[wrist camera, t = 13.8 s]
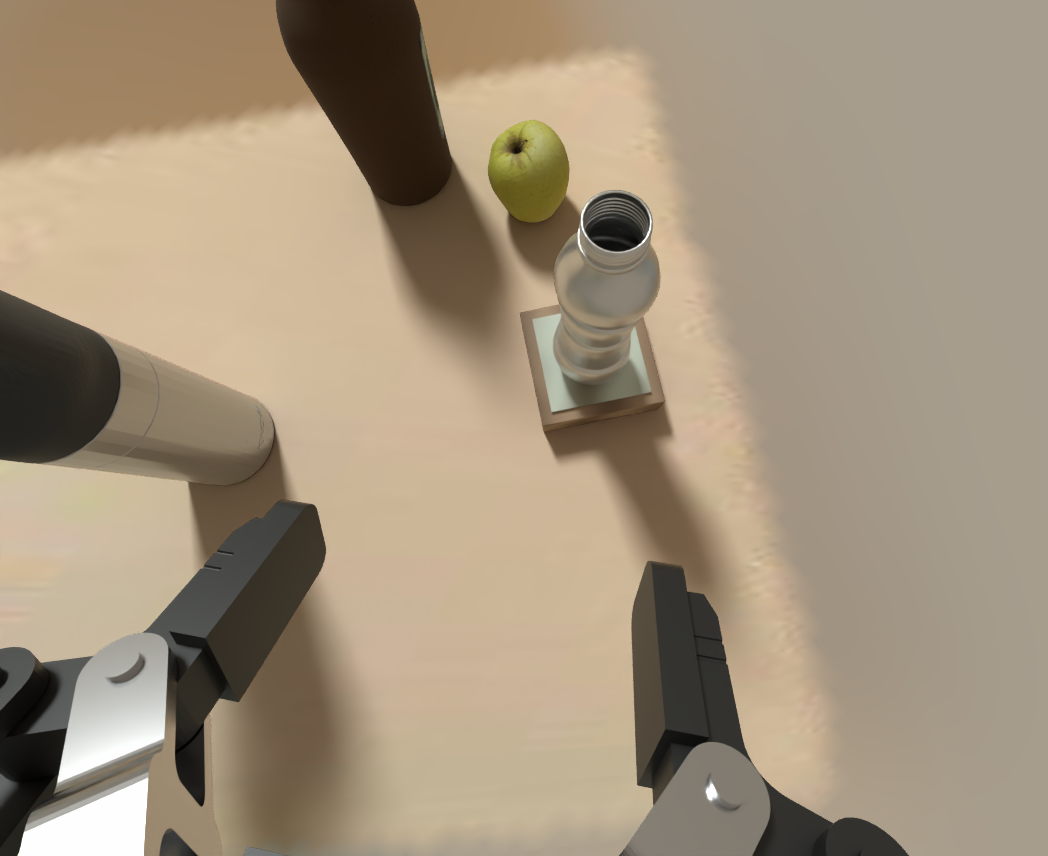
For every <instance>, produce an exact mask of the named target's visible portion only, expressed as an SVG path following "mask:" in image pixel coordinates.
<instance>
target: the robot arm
mask: <svg viewBox="0 0 1048 856" xmlns="http://www.w3.org/2000/svg"><path fill="white" fill-rule="evenodd" d="M273 440H274V427H273V422H272V419H271V417H270V414H269V412H268V411H267V409H266V408H265V407H264V405H263V404H261V403H260V402H259V401H258V400H256V399H254V398H252V397H250V396H248V395H246V394H243V393H241V392H239V391H236V390H234V389H232V388H229V387H227V386H225V385H223V384H220V383H218V382H215V381H213V380H211V379H208V378H206V377H204V376H201V375H199V374H196V373H194V372H192V371H189V370H187V369H185V368H182V367H180V366H177V365H175V364H173V363H170V362H168V361H166V360H163V359H161V358H158V357H156V356H154V355H151V354H149V353H147V352H144V351H142V350H139V349H137V348H135V347H132V346H129V345H127V344H125V343H122V342H120V341H118V340H115V339H113V338H110V337H108V336H106V335H103V334H101V333H98V332H96V331H94V330H91V329H89V328H87V327H84V326H82V325H79V324H77V323H74V322H72V321H70V320H67V319H65V318H62V317H60V316H58V315H56V314H53V313H51V312H49V311H47V310H44V309H42V308H40V307H38V306H35V305H33V304H31V303H29V302H26V301H24V300H22V299H20V298H17V297H15V296H13V295H10V294H8V293H6V292H3V291H1V290H0V460H7V461H16V462H25V463H36V464H45V465H53V466H62V467H70V468H79V469H89V470H97V471H105V472H114V473H122V474H130V475H139V476H147V477H155V478H163V479H172V480H180V481H187V482H195V483H204V484H212V485H231V484H236V483H238V482H241V481H243V480H246V479H247V478H249V477H250V476H252V475H253V474H254V473H255V472H256V471H258V470H259V469H260V468H261V467H262V465H263V464H264V462H265V461H266V459H267V458H268V456H269V453H270V451H271V449H272V445H273ZM325 555H326V546H325V541H324V537H323V533H322V529H321V524H320V520H319V516H318V512H317V508H316V507H315V505H313V504H308V503H301V502H295V501H289V500H280V501H278V502H277V503H276V504H275V505H274V506H273V507H272V509H271V510H270V511H269V512H268V513H267V515H266V516H265V517H264V518H263V519H261V518H254V519H252V520H251V521H249V522H248V523H246V524H245V525H243V526H242V527H240V528H239V529H237V530H235V531H234V532H233V533H232V534H231V535H230V536H229V537H228V538H227V540H226V541H225V542H224V543H223V544H222V545H221V546H220V548H219V549H218V551H217V553H216V554H213V556H212V557H211V558H210V559H209V560H208V561H207V562H206V563H205V565H204V568H203V569H200V570H199V571H198V573H197V574H196V575H195V576H194V577H193V578H192V579H191V580H190V582H189V583H188V584H187V585H186V586H185V587H184V588H183V590H182V591H181V592H180V593H179V594H178V595H177V596H176V597H175V599H174V600H173V601H172V602H171V603H170V604H169V605H168V607H167V608H166V609H165V610H164V611H163V612H162V613H161V614H160V616H159V617H158V618H157V619H156V620H155V621H154V622H153V624H152V625H151V626H150V627H149V628H148V629H147V630H145V631H144V632H143V633H138V634H133V635H129V636H126V637H123V638H121V639H119V640H117V641H115V642H113V643H111V644H109V645H108V646H106V647H104V648H103V649H102V650H100V651H99V652H98V653H97V654H96V655H94V656H91V657H83V658H75V659H67V660H60V661H52V662H44V663H40V661H39V660H38V659H37V658H36V657H35V656H34V655H33V654H32V653H31V652H30V651H29V650H27V649H25V648H20V647H10V648H3V649H0V856H17V855H18V853H19V856H222V847H221V840H220V835H219V831H218V828H217V825H216V821H215V817H214V810H213V784H212V743H211V718H210V714H209V713H210V711H211V710H212V708H213V707H214V705H215V704H216V702H217V701H218V699H219V698H221V699H226V700H231V701H235V702H239V701H240V699H241V698H242V696H243V694H244V693H245V691H246V690H247V688H248V686H249V685H250V683H251V682H252V680H253V678H254V677H255V675H256V674H257V672H258V670H259V669H260V667H261V666H262V664H263V662H264V661H265V659H266V658H267V656H268V654H269V653H270V651H271V650H272V648H273V646H274V645H275V643H276V641H277V640H278V638H279V637H280V635H281V633H282V632H283V630H284V629H285V627H286V625H287V624H288V622H289V621H290V619H291V617H292V616H293V614H294V613H295V611H296V609H297V608H298V606H299V605H300V603H301V601H302V600H303V598H304V597H305V595H306V593H307V592H308V590H309V588H310V587H311V585H312V584H313V582H314V580H315V579H316V577H317V576H318V574H319V572H320V571H321V568H322V566H323V563H324V560H325ZM632 654H633V682H634V710H635V737H636V765H637V785H638V786H643V787H648V788H652V789H653V808H652V809H651V811H650V812H649V814H648V815H647V817H646V818H645V819H644V821H643V822H642V824H641V825H640V827H639V828H638V830H637V831H636V833H635V834H634V836H633V837H632V839H631V840H630V842H629V843H628V845H627V846H626V848H625V849H624V850H623V852H622V853H621V854H620V855H619V856H909V855H908V854H907V853H906V852H905V850H904V849H903V848H902V847H901V846H900V845H899V844H898V843H897V842H896V841H895V840H894V839H893V838H892V837H891V836H890V835H888V834H887V833H886V832H885V831H883V830H882V829H880V828H879V827H877V826H876V825H874V824H871V823H870V822H868V821H865V820H862V819H858V818H843V819H840V820H838V821H837V822H835V823H834V824H833V823H832V822H830V821H828V820H826V819H824V818H822V817H821V816H819V815H817V814H815V813H814V812H812V811H810V810H808V809H806V808H805V807H803V806H801V805H799V804H797V803H796V802H794V801H792V800H790V799H789V798H787V797H785V796H784V795H782V794H781V793H779V792H778V791H777V790H776V789H774V788H773V787H772V786H771V785H770V784H769V783H768V782H767V781H766V780H765V779H764V778H763V777H762V776H761V774H760V773H759V772H758V771H757V769H756V768H755V766H754V765H753V763H752V761H751V759H750V758H749V756H748V753H747V751H746V749H745V746H744V742H743V738H742V733H741V729H740V724H739V719H738V714H737V709H736V704H735V699H734V694H733V689H732V684H731V680H730V675H729V670H728V665H726V655H725V650H724V645H722V635H721V631H720V626H719V621H718V616H717V615H716V613H715V611H714V610H713V608H712V607H711V605H710V603H709V602H708V600H707V599H706V597H705V595H704V594H699V593H693V592H687V588H686V582H685V575H684V571H683V568H682V567H681V566H678V565H672V564H666V563H660V562H654V561H648V562H647V564H646V567H645V570H644V573H643V576H642V579H641V582H640V585H639V588H638V591H637V595H636V598H635V601H634V605H633V612H632ZM243 856H287V855H282V854H278V853H274V852H269V851H265V850H261V849H256V848H252V847H247V849H246V851H245V853H244V855H243Z"/></svg>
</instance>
